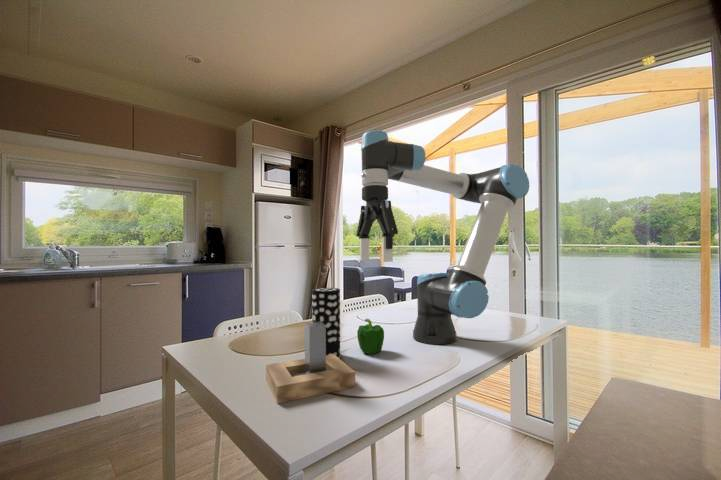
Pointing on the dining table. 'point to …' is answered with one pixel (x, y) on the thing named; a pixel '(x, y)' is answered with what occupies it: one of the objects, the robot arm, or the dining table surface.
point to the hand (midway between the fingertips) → (375, 260)
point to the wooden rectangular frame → (308, 379)
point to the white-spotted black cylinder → (328, 316)
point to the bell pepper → (370, 338)
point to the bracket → (314, 348)
